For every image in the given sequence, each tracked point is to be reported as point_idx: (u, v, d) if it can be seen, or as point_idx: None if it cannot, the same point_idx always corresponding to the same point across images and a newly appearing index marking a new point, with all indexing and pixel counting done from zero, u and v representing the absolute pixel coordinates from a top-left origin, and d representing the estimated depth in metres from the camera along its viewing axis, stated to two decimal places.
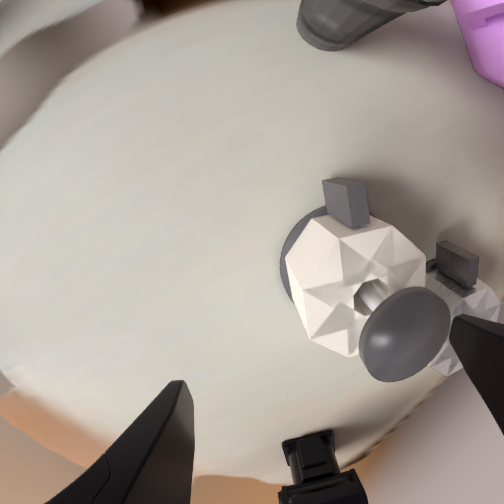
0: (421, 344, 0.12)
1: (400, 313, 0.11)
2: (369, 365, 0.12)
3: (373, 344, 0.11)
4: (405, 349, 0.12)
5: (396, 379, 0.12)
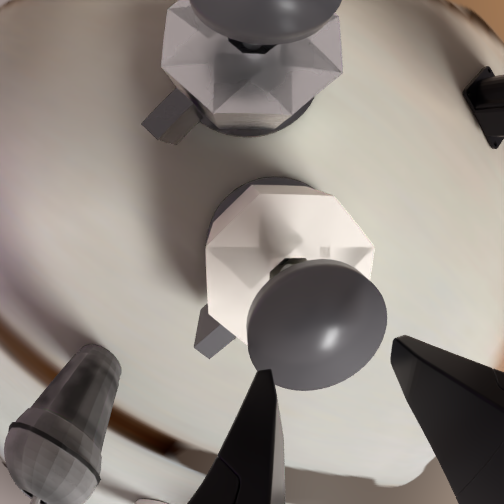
0: (320, 320, 0.09)
1: (292, 382, 0.10)
2: (365, 362, 0.10)
3: (338, 379, 0.10)
4: (334, 338, 0.09)
5: (381, 305, 0.09)
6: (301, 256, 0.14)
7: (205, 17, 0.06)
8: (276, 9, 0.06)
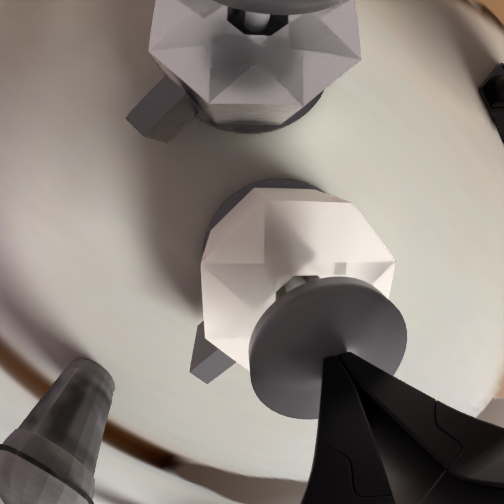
0: (333, 347, 0.08)
1: (299, 411, 0.08)
2: None
3: None
4: None
5: (402, 328, 0.08)
6: (313, 273, 0.12)
7: None
8: None
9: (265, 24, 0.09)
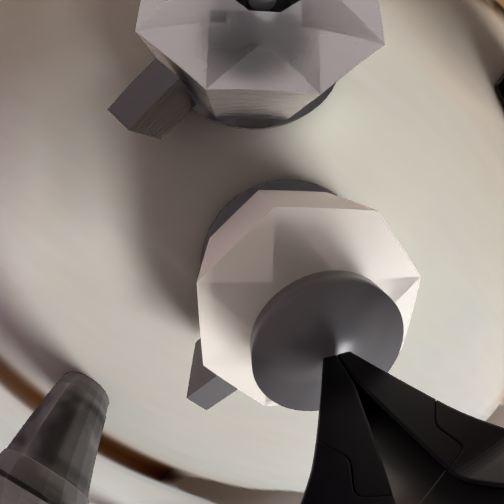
0: (332, 338, 0.08)
1: (300, 403, 0.09)
2: None
3: None
4: None
5: (398, 321, 0.08)
6: None
7: None
8: None
9: (273, 1, 0.07)
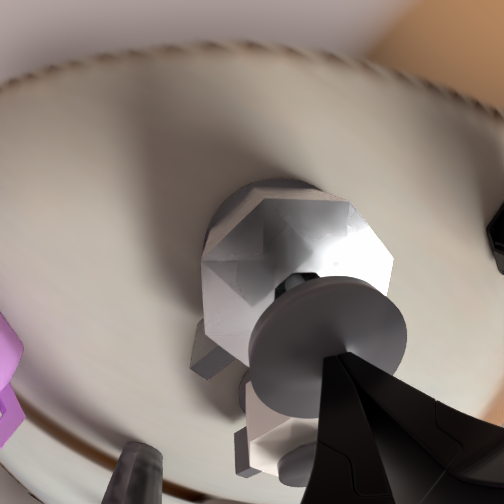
0: None
1: (300, 485, 0.15)
2: None
3: None
4: None
5: None
6: None
7: (271, 404, 0.09)
8: None
9: None
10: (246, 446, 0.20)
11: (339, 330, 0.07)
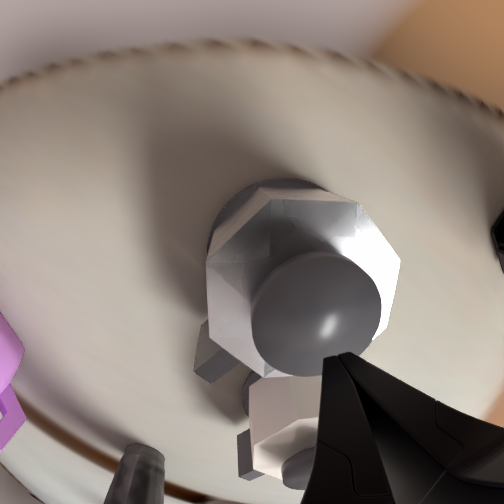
0: None
1: (304, 488, 0.14)
2: None
3: None
4: None
5: None
6: None
7: (269, 361, 0.11)
8: None
9: None
10: (249, 448, 0.19)
11: (323, 294, 0.10)
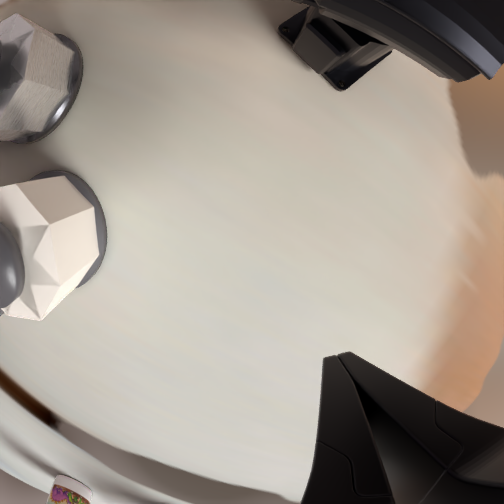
0: None
1: None
2: (12, 291, 0.11)
3: (5, 302, 0.11)
4: None
5: (4, 247, 0.10)
6: None
7: None
8: None
9: None
10: None
11: None
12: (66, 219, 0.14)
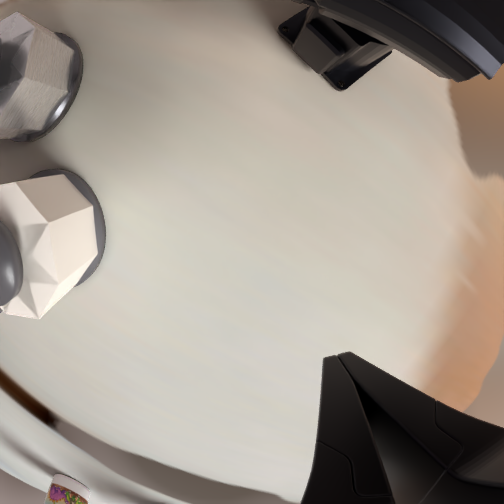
0: None
1: None
2: (11, 289, 0.11)
3: (4, 300, 0.11)
4: None
5: (2, 245, 0.10)
6: None
7: None
8: None
9: None
10: None
11: None
12: (65, 217, 0.14)
